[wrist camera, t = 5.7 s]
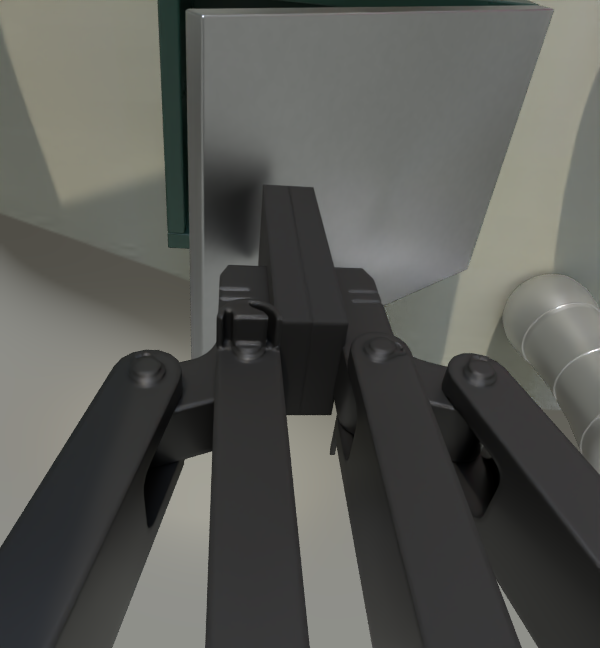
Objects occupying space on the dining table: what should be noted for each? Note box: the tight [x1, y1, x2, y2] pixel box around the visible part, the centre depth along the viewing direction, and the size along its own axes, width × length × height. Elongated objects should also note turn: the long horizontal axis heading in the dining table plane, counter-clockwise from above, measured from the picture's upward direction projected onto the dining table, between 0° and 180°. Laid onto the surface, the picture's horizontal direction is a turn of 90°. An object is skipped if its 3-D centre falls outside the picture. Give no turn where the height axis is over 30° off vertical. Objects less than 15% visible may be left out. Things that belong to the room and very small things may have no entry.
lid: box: [186, 5, 554, 359], centre depth 21 cm, size 15×12×1 cm
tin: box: [158, 0, 539, 249], centre depth 28 cm, size 15×12×10 cm
